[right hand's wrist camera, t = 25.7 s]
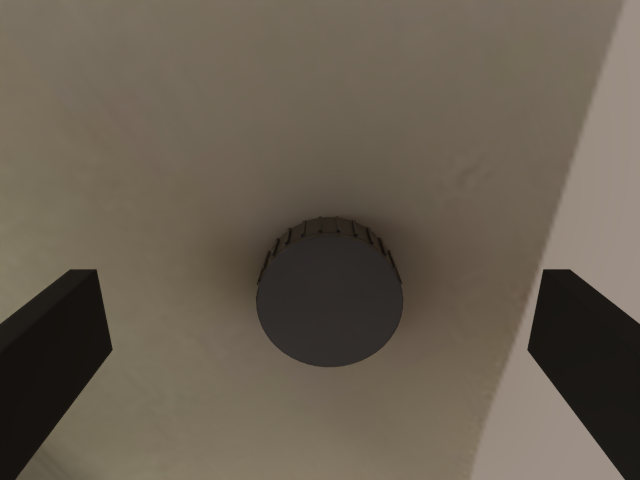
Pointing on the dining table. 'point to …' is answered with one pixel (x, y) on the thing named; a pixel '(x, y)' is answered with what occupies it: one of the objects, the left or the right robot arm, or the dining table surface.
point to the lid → (329, 293)
